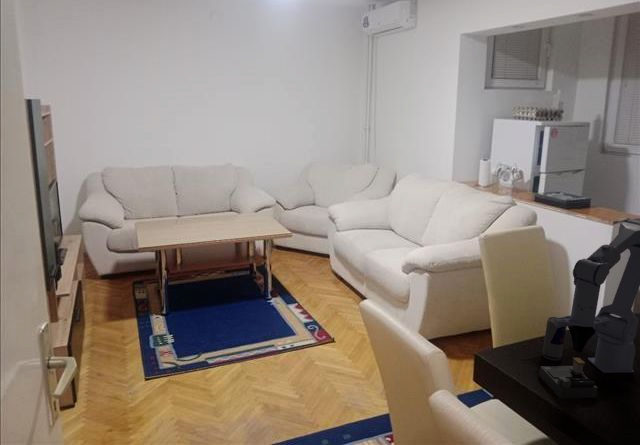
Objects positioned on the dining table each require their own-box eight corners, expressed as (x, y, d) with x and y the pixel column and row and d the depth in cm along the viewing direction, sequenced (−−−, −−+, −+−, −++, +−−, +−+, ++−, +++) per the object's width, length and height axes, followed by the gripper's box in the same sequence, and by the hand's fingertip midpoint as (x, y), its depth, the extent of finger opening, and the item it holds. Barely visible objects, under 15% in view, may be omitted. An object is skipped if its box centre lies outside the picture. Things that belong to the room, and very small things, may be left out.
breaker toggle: (578, 369, 140) (580, 357, 139) (584, 375, 137) (586, 362, 136) (569, 369, 140) (571, 357, 139) (575, 375, 137) (577, 363, 136)
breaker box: (572, 375, 144) (575, 360, 143) (596, 397, 133) (599, 381, 132) (539, 375, 143) (541, 360, 142) (559, 398, 132) (562, 382, 131)
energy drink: (563, 362, 151) (569, 325, 148) (544, 360, 152) (549, 323, 149) (558, 353, 156) (564, 317, 153) (540, 351, 157) (545, 315, 154)
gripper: (601, 297, 138) (594, 342, 141) (550, 298, 137) (544, 343, 140) (618, 308, 131) (609, 355, 134) (564, 309, 130) (557, 356, 133)
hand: (577, 350), depth 137 cm, fingers closed
